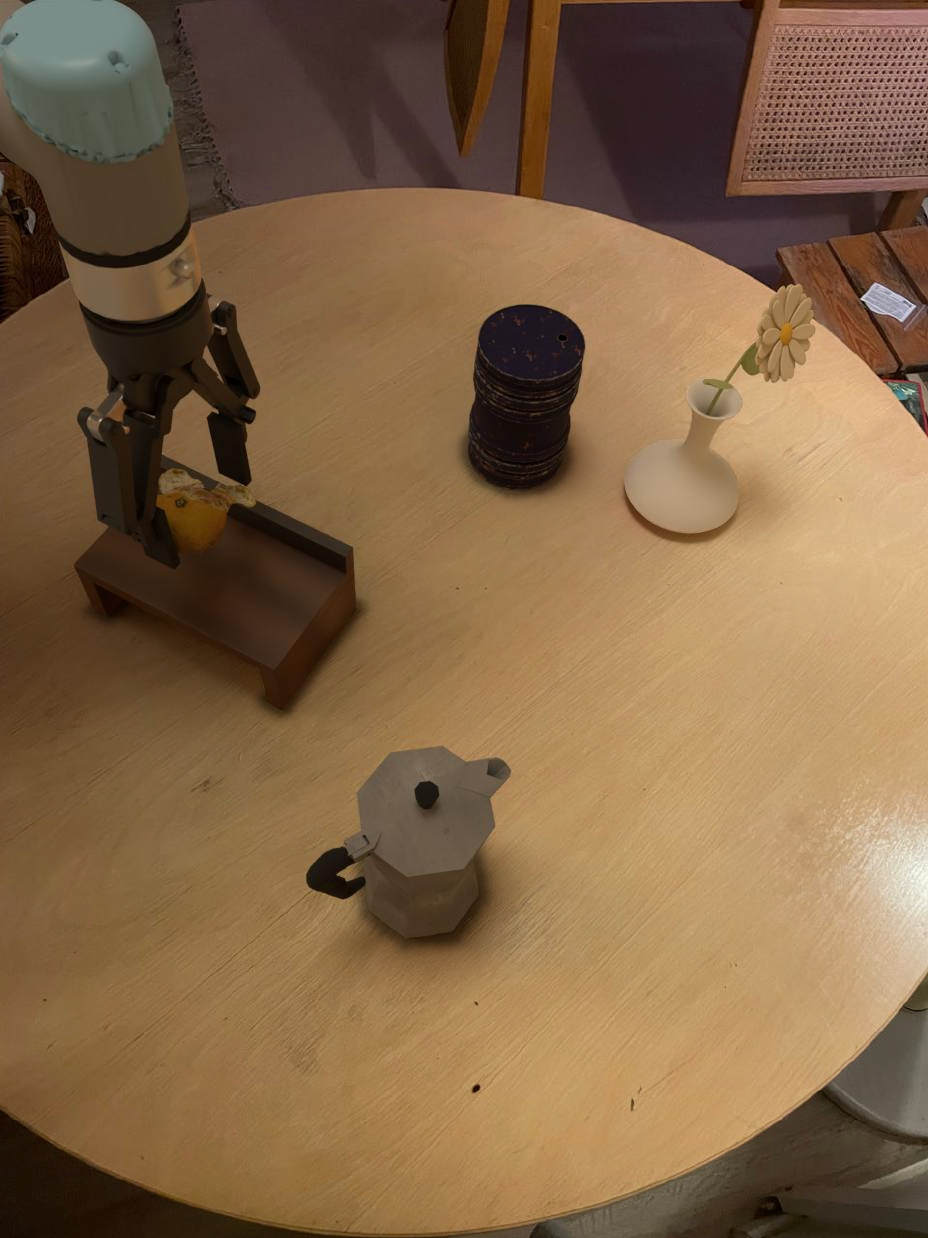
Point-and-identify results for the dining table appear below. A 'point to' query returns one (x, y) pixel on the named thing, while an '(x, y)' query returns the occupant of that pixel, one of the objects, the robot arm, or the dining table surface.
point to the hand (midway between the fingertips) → (200, 516)
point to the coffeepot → (417, 839)
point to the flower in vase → (689, 469)
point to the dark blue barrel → (523, 395)
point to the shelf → (238, 589)
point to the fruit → (197, 509)
